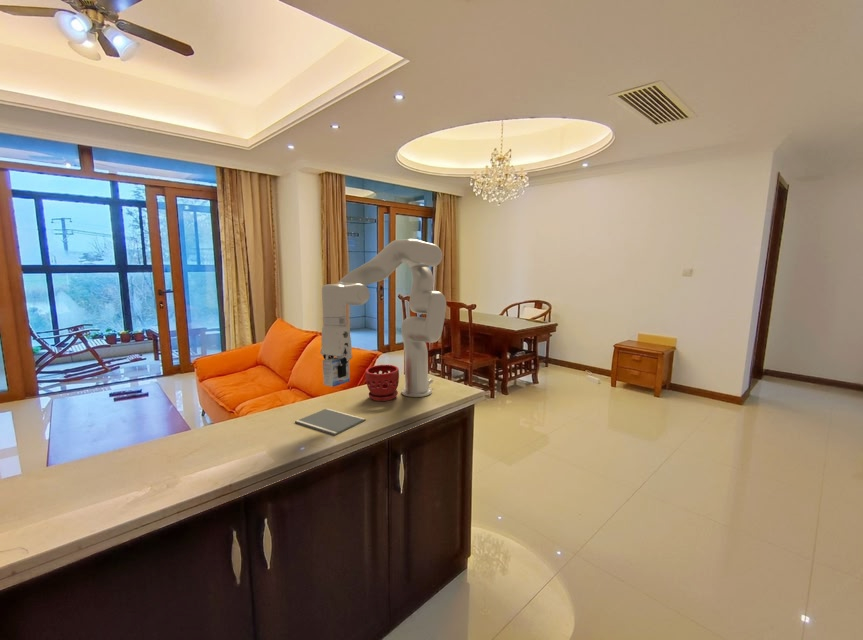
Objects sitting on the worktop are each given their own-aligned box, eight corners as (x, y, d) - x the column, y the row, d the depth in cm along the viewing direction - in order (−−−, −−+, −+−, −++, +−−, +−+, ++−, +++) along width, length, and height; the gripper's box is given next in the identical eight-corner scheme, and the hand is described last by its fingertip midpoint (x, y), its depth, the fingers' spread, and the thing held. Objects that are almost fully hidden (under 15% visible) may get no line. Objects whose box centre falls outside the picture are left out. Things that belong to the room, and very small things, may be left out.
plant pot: (364, 394, 160) (363, 366, 158) (395, 391, 163) (394, 363, 162) (369, 405, 147) (367, 374, 146) (402, 401, 151) (402, 371, 149)
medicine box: (332, 387, 126) (331, 361, 125) (323, 385, 129) (322, 359, 128) (350, 381, 133) (349, 356, 132) (341, 379, 135) (340, 355, 134)
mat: (327, 409, 143) (327, 408, 143) (365, 420, 132) (365, 418, 132) (295, 422, 131) (295, 420, 131) (334, 435, 121) (334, 433, 121)
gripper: (361, 322, 126) (362, 376, 129) (326, 318, 136) (328, 369, 138) (344, 324, 120) (346, 382, 123) (308, 321, 130) (311, 374, 132)
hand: (336, 375), depth 130 cm, fingers closed on medicine box, 4 cm apart
